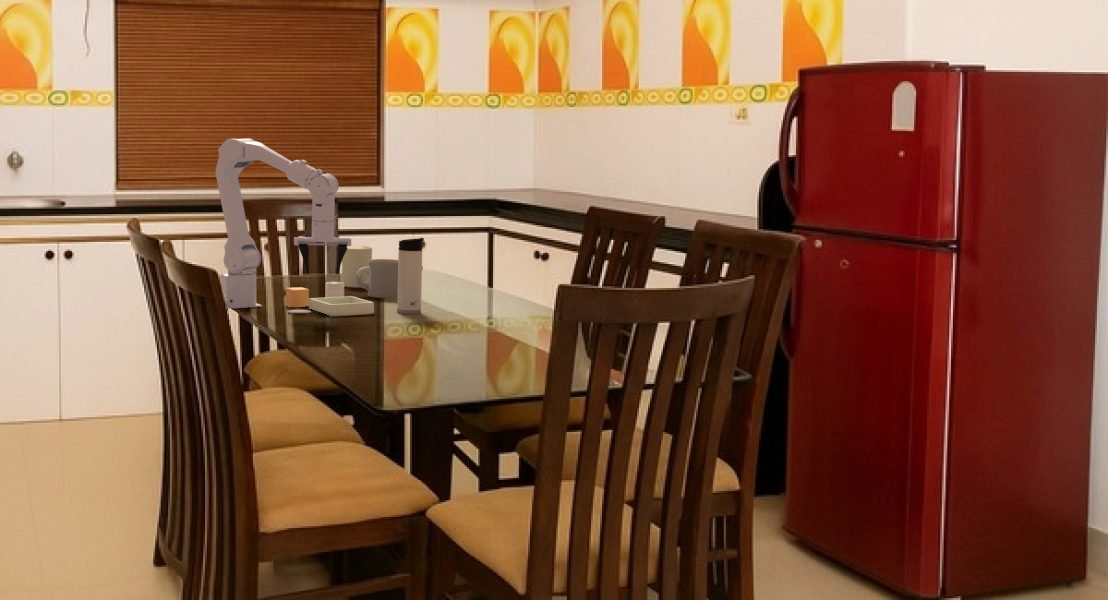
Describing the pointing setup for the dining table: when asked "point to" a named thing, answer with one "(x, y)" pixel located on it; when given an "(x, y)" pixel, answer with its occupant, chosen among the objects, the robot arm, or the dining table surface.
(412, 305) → the travel mug
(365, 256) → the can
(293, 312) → the grey flat disc
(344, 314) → the tray
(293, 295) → the block
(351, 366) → the dining table surface
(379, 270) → the coffee mug
